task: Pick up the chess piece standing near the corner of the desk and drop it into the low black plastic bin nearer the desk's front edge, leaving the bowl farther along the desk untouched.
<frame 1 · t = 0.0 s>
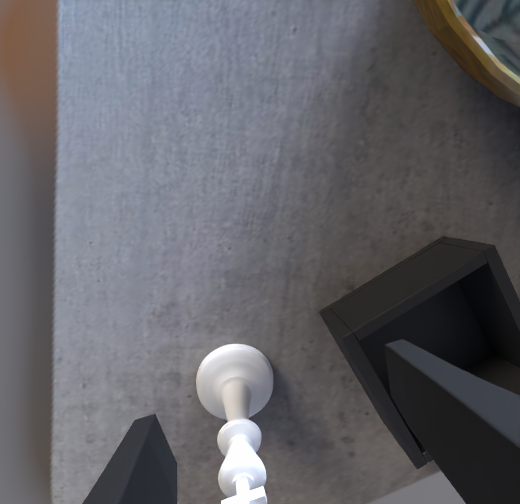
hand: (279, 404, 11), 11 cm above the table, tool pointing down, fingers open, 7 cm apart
chess piece: (235, 378, 22), on the table
black bin: (412, 332, 23), on the table
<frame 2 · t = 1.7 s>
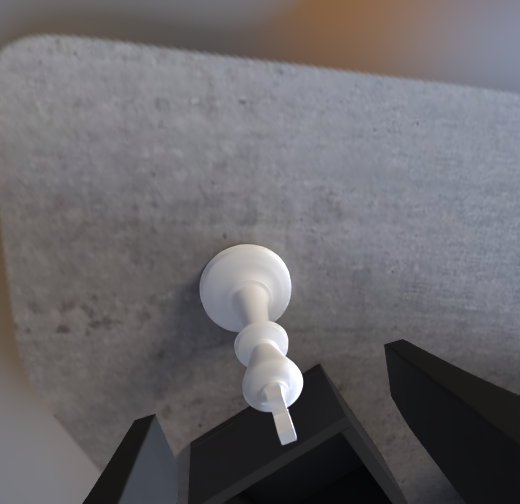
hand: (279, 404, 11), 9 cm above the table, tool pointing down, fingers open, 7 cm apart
chess piece: (245, 286, 19), on the table
black bin: (291, 448, 23), on the table
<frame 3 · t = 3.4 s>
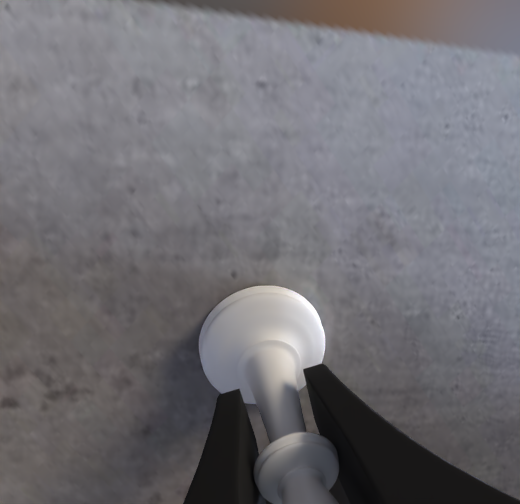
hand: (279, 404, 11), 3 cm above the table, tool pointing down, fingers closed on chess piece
chess piece: (261, 339, 14), on the table, touching gripper
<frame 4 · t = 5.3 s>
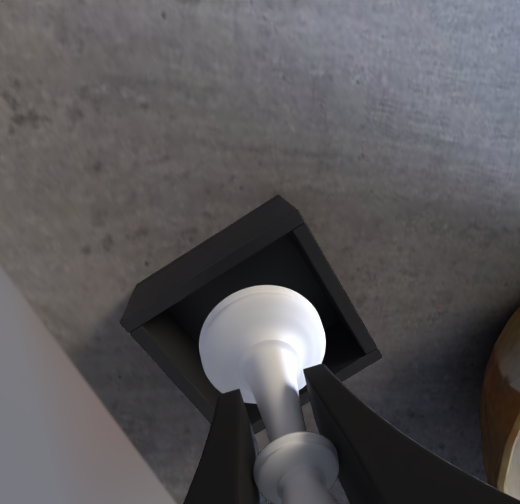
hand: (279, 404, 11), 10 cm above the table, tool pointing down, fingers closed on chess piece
chess piece: (261, 339, 14), point 7 cm above the table, touching gripper
black bin: (250, 302, 21), on the table
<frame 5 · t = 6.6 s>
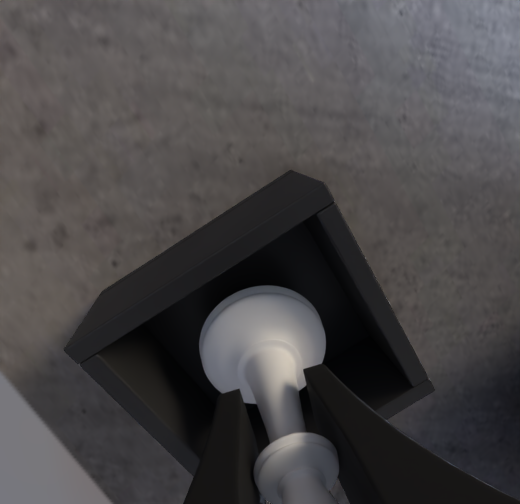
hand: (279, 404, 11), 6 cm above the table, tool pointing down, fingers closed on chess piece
chess piece: (261, 339, 14), point 2 cm above the table, touching gripper
black bin: (254, 313, 16), on the table
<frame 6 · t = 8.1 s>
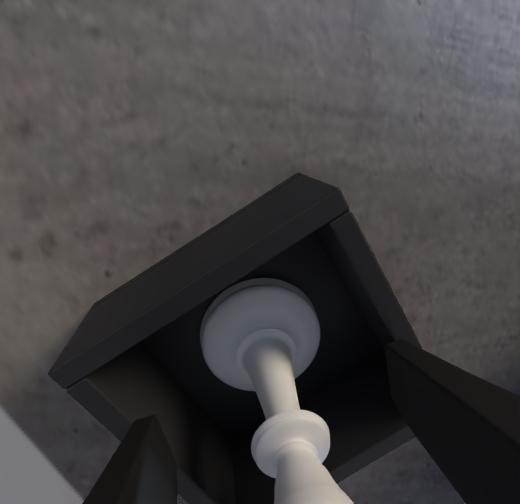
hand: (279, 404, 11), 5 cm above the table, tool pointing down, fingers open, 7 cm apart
chess piece: (259, 329, 15), resting on black bin
black bin: (257, 326, 15), on the table
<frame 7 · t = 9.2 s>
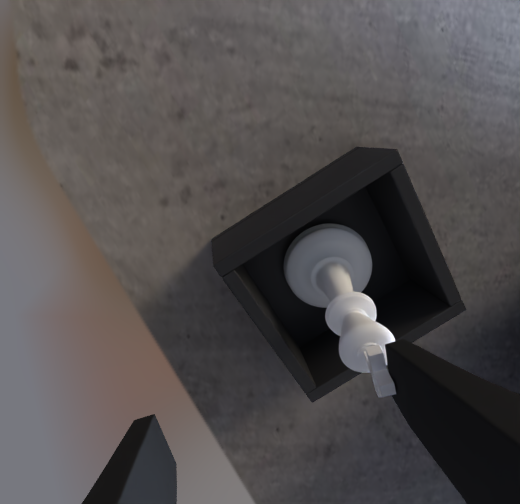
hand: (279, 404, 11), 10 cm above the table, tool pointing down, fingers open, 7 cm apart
chess piece: (326, 263, 20), point 1 cm above the table, touching black bin, gripper
black bin: (322, 260, 21), on the table
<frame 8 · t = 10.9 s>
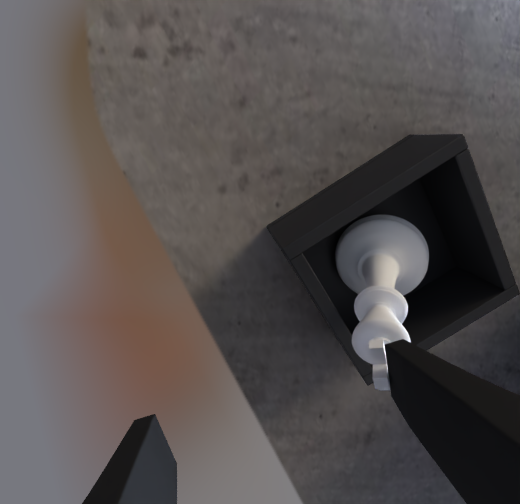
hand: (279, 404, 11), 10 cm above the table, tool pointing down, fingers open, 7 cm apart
chess piece: (380, 255, 20), point 1 cm above the table, touching black bin, gripper
black bin: (371, 247, 21), on the table
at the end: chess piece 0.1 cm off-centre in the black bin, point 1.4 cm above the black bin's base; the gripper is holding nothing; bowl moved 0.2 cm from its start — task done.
